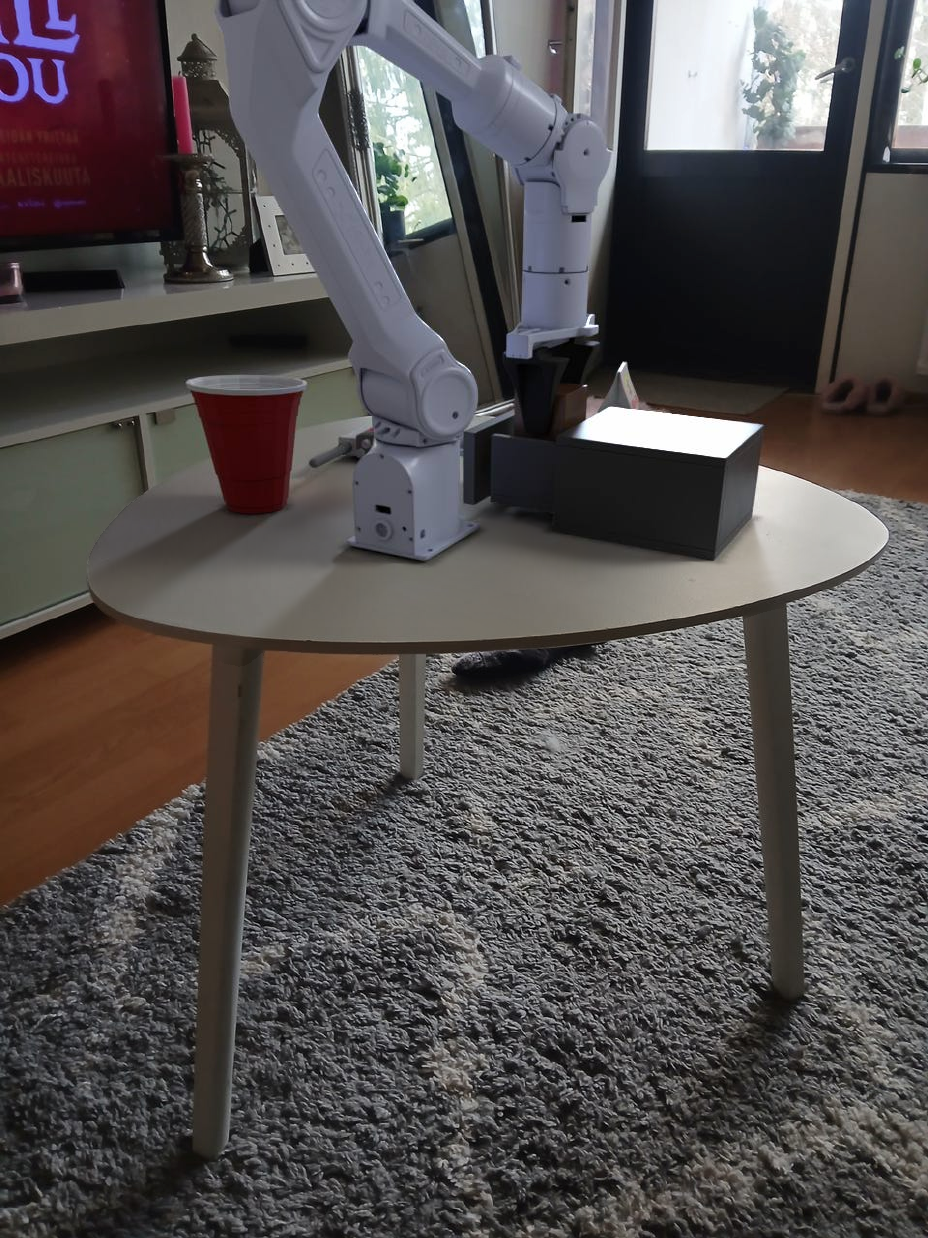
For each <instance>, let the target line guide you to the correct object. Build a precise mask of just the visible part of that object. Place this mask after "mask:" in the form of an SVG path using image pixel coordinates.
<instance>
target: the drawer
mask: <svg viewBox="0 0 928 1238" xmlns="http://www.w3.org/2000/svg"><path fill="white" fill-rule="evenodd" d="M514 410H515V408H513V409H511V410H509V411H507V412H504V413H501V414H499V415H498V416H495V417H493V418H491V419H488V420H486V421H484V422H481V423H479V424H477V425H475V426H473V427H470V428H467V429H465V430H464V431H463V439H462V440H460V457H461V458H462V478H463V479H462V490H463V491H462V503H463V504H465V505H472V506H475V505H477V504H479V503H480V502H482V501H485V500H486V499H488V498H489V497H490V503H493V504H499V505H505V506H512V507H516V508H521V509H522V508H523V509H528V510H534V511H539V512H546V513H551V514H553V498H554V474H555V450H556V442H553V441H546V440H539V439H531V438H524V437H517V436H514ZM587 419H588V418H586V420H587Z"/></svg>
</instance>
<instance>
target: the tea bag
mask: <svg viewBox="0 0 928 1238" xmlns="http://www.w3.org/2000/svg"><path fill="white" fill-rule="evenodd" d="M609 407H613V408H622V409H631V410H639V397H638V394H637V391H636V389H635V386H634V383H633V381H632V379H631V375H630V372H629V369H628V362H627V361H622V363H621V364H620V367H618V370H617V371H616V373H615V378H614V380H613V382H612V384H611V387H610V389H609V390H608V392H607V394H606V396H605V397H604V399H603V401H602V402H601V404H600V406H599V408H598V409H597V414H598V413H600V412H602V411H604V410H606V409H608V408H609Z"/></svg>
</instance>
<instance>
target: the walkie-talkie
mask: <svg viewBox="0 0 928 1238" xmlns="http://www.w3.org/2000/svg"><path fill="white" fill-rule="evenodd" d="M373 440H374V430H373V429H372V426H368V427H361V428H357V429H354V430H352V431H350V432H348V433H347V434H343V435H340V436H339V437H338V439H337V441H338V444H337V446H335V447H333V448H331V449H329V450H327V451H325V452H323V453H321V454H319V455H317V456H315V457H313V458H311V459H309V461H308V465H309V467H310V468H313V469H318V468H319V467H321V466H324V464H325V465H326V464H327V463H329V462H331V461H332V460H334V459H336V458H338V457H340V456H342V455H343V456H344V455H345V456H355V457H357V459H359V460H360V459H361V458H362V457H363V456H364V455H366V454H367V453H368V452H369V451H370V449H371V447H372V445H373Z"/></svg>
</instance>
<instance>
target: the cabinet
mask: <svg viewBox="0 0 928 1238" xmlns="http://www.w3.org/2000/svg"><path fill="white" fill-rule="evenodd" d="M586 419H587V420H585V421H583V422H581V423H579V424H578V425H576V426H574V427H572V428H570V429H568V430H566V431H564V432H562V433H561V434H559V435H557V436H556V450H555V474H554V498H553V513H552V523H551V531H552V532H556V533H560V534H567V535H572V536H577V537H582V538H589V539H594V540H599V541H605V542H611V543H616V544H621V545H627V546H632V547H633V546H634V547H638V548H643V549H650V550H654V551H661V552H665V553H671V554H677V555H682V556H688V557H694V558H700V559H705V560H711V561H715V560H717V558H718V557H719V555H721V554H722V552H723V551H724V550H725V549H726V548H727V546H728V545H729V544H731V542H732V540H733V539H734V538H735V537H736V536H737V535H738V534H739V533H740V531H741V530H742V529H743V528H744V527H745V526H746V525H747V523H748V522H749V521H750V520H751V519H752V517H753V512H754V505H755V497H756V491H757V482H758V477H759V468H760V461H761V453H762V445H763V437H764V432H765V431H764V430H765V425H764V424H759V423H751V422H743V421H733V420H726V419H725V420H724V419H716V418H707V417H698V416H691V415H683V414H675V413H674V414H672V413H665V412H664V413H663V412H656V411H647V410H639V409H638V410H631V409H622V408H613V407H609V408H608V409H606V410H604V411H602V412H600V413H598V412H597V413H596V414H594V415H592V416H591V417H589V418H586Z"/></svg>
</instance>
